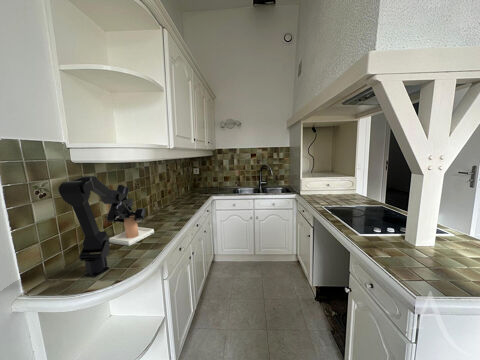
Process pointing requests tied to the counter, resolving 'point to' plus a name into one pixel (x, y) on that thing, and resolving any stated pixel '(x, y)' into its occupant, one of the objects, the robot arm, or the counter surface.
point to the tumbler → (131, 227)
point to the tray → (123, 240)
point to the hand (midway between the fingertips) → (132, 221)
